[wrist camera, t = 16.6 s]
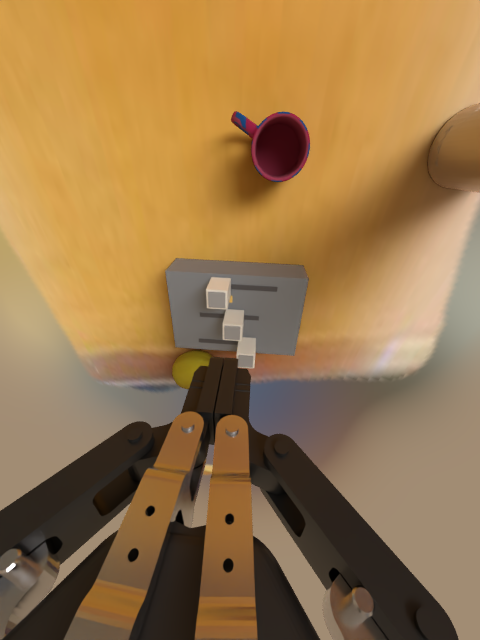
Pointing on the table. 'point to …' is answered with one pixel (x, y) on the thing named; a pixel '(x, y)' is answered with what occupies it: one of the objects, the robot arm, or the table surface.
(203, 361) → the lemon
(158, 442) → the robot arm
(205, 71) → the table surface
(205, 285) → the console
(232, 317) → the slider mid
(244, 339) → the slider far
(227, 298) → the slider near
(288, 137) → the mug
